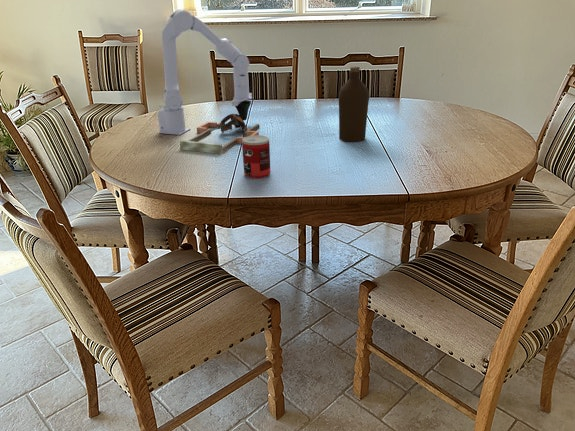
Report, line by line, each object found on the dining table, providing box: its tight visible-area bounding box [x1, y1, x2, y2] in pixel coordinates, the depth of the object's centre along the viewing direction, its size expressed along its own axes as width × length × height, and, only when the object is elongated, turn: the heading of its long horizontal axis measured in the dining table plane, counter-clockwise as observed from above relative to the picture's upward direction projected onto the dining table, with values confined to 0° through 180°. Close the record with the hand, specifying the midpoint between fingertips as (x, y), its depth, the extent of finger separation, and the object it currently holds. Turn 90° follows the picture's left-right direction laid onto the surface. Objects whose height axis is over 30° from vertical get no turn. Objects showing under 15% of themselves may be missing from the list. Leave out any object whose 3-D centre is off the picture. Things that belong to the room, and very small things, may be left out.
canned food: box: [241, 134, 271, 179], centre depth 143 cm, size 8×8×11 cm
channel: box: [178, 121, 260, 155], centre depth 178 cm, size 16×32×3 cm, turn 160°
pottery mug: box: [219, 113, 248, 134], centre depth 185 cm, size 12×10×8 cm
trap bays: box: [196, 121, 260, 144], centre depth 182 cm, size 25×16×2 cm, turn 70°
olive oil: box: [338, 66, 370, 143], centre depth 170 cm, size 11×11×25 cm
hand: (243, 119), depth 194 cm, fingers closed
